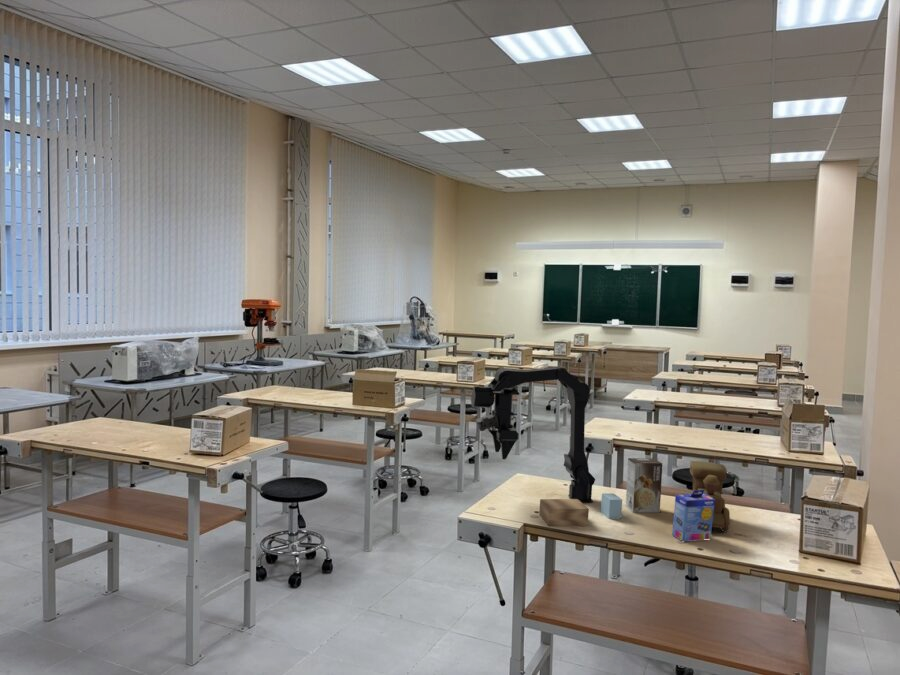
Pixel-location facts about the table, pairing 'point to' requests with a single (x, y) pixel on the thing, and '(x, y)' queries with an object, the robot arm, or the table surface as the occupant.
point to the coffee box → (644, 485)
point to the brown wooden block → (563, 512)
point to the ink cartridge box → (693, 516)
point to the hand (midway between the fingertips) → (500, 455)
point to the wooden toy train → (712, 489)
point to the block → (611, 505)
